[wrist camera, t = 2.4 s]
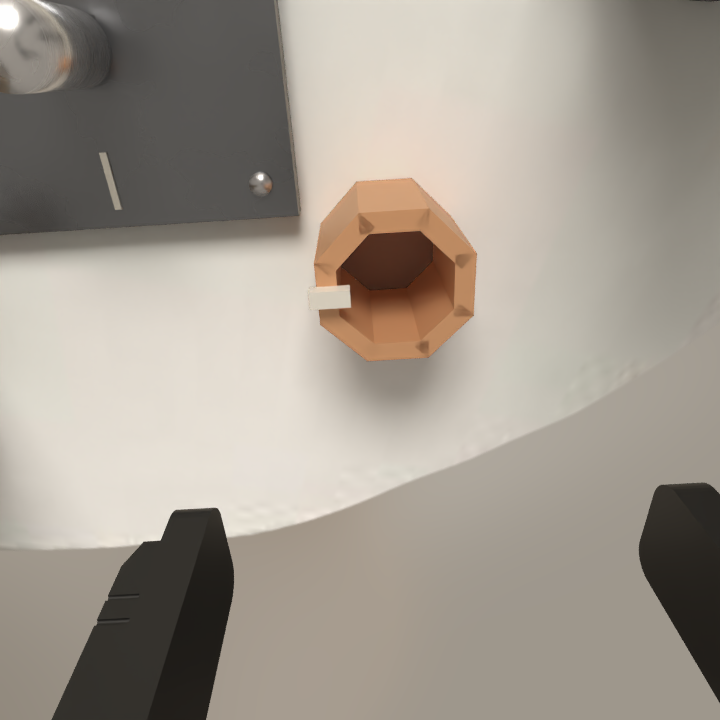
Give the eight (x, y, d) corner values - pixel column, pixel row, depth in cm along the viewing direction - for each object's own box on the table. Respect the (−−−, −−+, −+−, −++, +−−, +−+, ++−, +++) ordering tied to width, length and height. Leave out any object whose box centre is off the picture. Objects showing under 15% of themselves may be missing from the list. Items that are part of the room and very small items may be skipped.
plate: (254, -202, 18) (214, -318, 13) (300, 209, 25) (287, 248, 19) (-203, -168, 18) (-436, -268, 13) (-33, 231, 25) (-138, 275, 20)
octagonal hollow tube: (451, 175, 24) (483, 208, 18) (448, 299, 27) (474, 362, 21) (310, 184, 24) (299, 220, 19) (323, 307, 27) (316, 371, 22)
